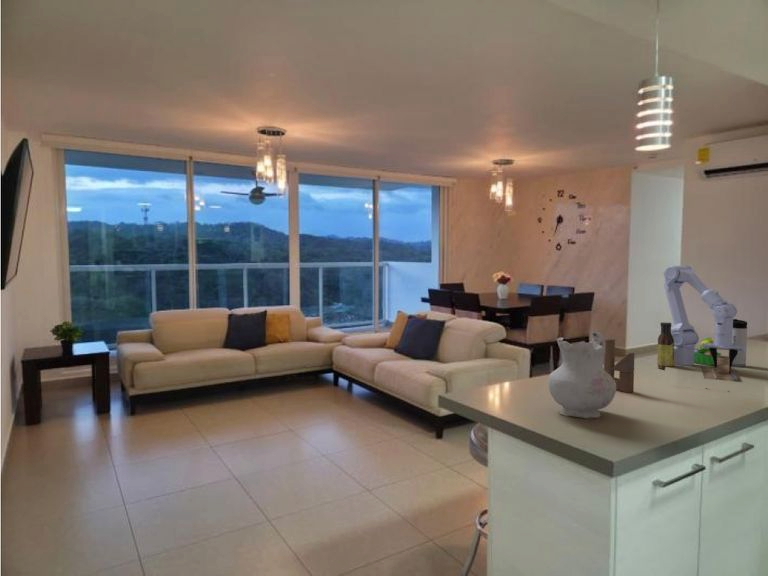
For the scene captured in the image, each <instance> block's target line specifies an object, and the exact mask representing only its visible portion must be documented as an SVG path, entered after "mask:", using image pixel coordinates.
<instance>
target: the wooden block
mask: <svg viewBox="0 0 768 576" xmlns="http://www.w3.org/2000/svg"><path fill="white" fill-rule="evenodd" d="M604 341H605V355H604V363H603V368H604V370H605V371H606V372H607V373H608V374H609V375H611V377H612V378H613V379H614V381H615V383H616V391H619V392H622V391H623V393H626V392H627V393H626V394H629V392H630V393H632V391H633V392H634V388H635V387H634V385H635V384H634V383H635V381H634V380H635V352H631V353H627V354H626V355H625V356H624V357H623V358H621V359H620V360H619V361H618V362H617V363H616V361H615V360H616V359H615V358H616V356H615V355H616V339H615V338H609V337H608V338H604ZM615 363H616V364H615ZM615 371H617V372H618V373H619V374H618V375H619V378H618V377H615Z"/></svg>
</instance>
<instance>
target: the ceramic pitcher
mask: <svg viewBox="0 0 768 576" xmlns="http://www.w3.org/2000/svg"><path fill="white" fill-rule="evenodd" d="M604 339H605V338H604V336H603V335H602V332H600V331H598V330H596V331H593V333H592V340H591V341H590V342H585V341H579V342H577V343H570V342H568V341H566V340H564V337H558V338H556V341H557V344H558V348H559V349H560V353H561V357H562V363H561V365H560V366H559V367H558V368H556V369H555V370H553V371H552V372H551V373H550V374H549V376H548V381H547V382H548V383H547V384H548V390H549V393H550V395H551V397H552V398H553V400H554V401H555V403H557V404H558V405H560V406H562V408H561V409H560V410H561V411H560V410H559V412H561V413H563V414H564V415H563V416H565V417H577V418H582V419H587V420H588V419H597V418H601V417H602V415H601V412H600V411H599V410H602V409H605V408H606V407H607V406H609V405H610V404H611V403H612V401H613V400H614V398H615V396H616V393H617V392H616V391H617V390H616V383H615V381H614V379H613V378H612V377H611V375H609V374H608V373H607V372H606V371H605V370H604V355H605V341H604Z"/></svg>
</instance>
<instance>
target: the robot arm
mask: <svg viewBox="0 0 768 576" xmlns="http://www.w3.org/2000/svg"><path fill="white" fill-rule="evenodd" d="M663 276H664V290H665V295H666V298H667V302H668V307H669V310H670V314H671V318H672V321H673V327H671V334H672V336H673V339H674V365H679V366H688V367H689V366H694V365H695V363H694V349H695V348H696V345H697V344H698V343H699V340H700V336H699V334H698V332H697V331H696V330H695V327H694V325H692V324H691V323H690V322H689V319H688V315H687V312H686V307H685V304H684V300H683V297H682V293H681V289H680V288H681V287H682V285H683V284H685V283H688V284H689V285H690V286H691V287H692V288H693V289H694V290H696V292H698V293H699V294H700V295H701V300H702V301H703V303H705V304H706V305H707V306H708V308H710V309H711V310H712V311H711V312H712V315H713V317H714V321H715V328H714V329H715V331H714V343H702V349H705V348H707V349H709V350H710V352H711V355H712V357H713V360H714V365H713V366H714V367H713V368H716V367H717V353H718V350H722V351H723V350H724V351H728V357H729V358H730V361H729V369H731V368H732V366H731V365H732V363H733V360H734V358H735V357H736V355H737V354H738V352H737V351H743V352H746V353H747V346H746V347H745V346H739V345H732V334H733V319H734V317H736V315H737V313H738V310H737V308H736V306H735V304H733V303H730V302H729V303H728V301H727V299H724V298H723V297H722V296H721V295H720V292H718V291H717V290H715V289H710V288H708V286H707V285H706V284H705V283H704V282H703V281H702V279H700V278H699V277H698V275H697V274H696V271H695V270H694V269H693V268H692V267H691V266H689V265H686V264H685V265H669V266H667V267H666V269H665V271H664V272H663Z"/></svg>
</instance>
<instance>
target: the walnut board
mask: <svg viewBox="0 0 768 576" xmlns="http://www.w3.org/2000/svg"><path fill="white" fill-rule="evenodd" d="M715 368H716V367H710V366H709V367H707V366H701V368H700V369H701V372H702V375H703V379H704V380H705V379H706V380H716V381H718V380H719V381H726V382H727V381H729V382H739V383H743V380H742V378H741V376H740V375H739V373H738V371H737V369H733V368H732V367H731V369H729V373H718V372H717V371H715Z"/></svg>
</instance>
